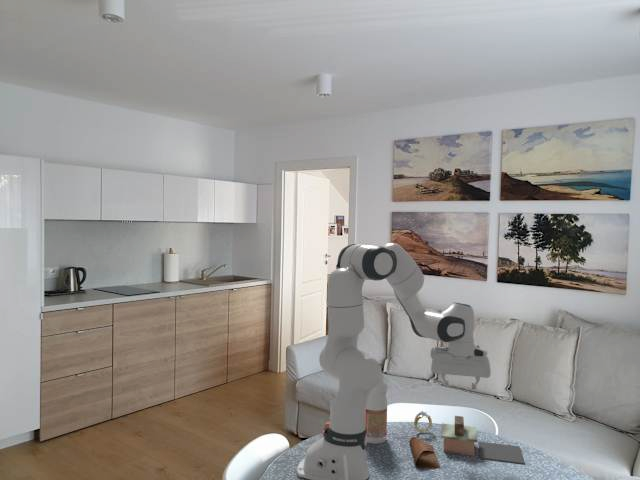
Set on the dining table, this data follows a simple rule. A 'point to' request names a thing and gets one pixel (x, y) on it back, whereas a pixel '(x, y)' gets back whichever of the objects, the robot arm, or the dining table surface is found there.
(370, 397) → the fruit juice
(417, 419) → the ring
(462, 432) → the lid
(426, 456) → the sunglasses case
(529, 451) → the dining table surface
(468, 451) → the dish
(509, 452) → the mat
